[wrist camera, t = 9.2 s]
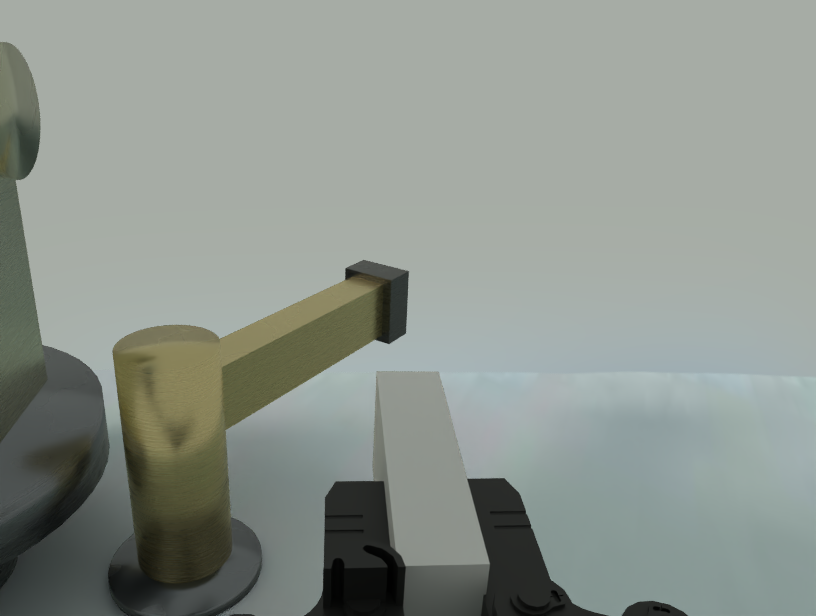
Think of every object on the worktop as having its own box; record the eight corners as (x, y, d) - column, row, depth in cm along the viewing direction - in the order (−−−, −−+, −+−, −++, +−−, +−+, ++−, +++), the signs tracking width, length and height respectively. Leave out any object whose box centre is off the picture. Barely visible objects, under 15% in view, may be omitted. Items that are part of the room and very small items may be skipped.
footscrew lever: (183, 597, 24) (162, 380, 21) (117, 558, 26) (89, 350, 23) (409, 416, 36) (417, 255, 32) (354, 396, 37) (356, 241, 34)
